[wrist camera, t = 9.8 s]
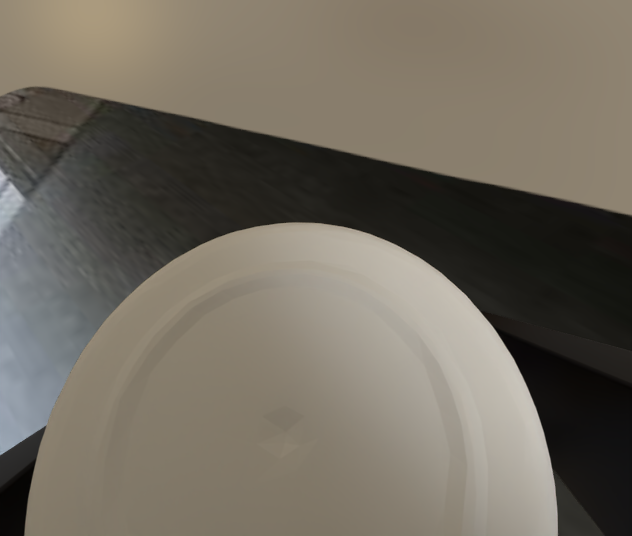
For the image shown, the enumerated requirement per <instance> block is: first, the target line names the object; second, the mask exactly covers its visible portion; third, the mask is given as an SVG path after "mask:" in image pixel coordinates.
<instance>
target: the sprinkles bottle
mask: <svg viewBox="0 0 632 536" xmlns="http://www.w3.org/2000/svg"><path fill="white" fill-rule="evenodd" d="M24 536H558V514H557V502H556V492H555V483H554V477H553V472H552V466H551V461H550V456H549V452H548V448H547V444H546V440H545V436H544V432H543V429H542V426H541V422H540V419H539V416H538V413H537V410H536V407H535V405H534V403H533V400H532V398H531V395H530V393H529V390H528V388H527V386H526V383H525V381H524V379H523V377H522V375H521V373H520V371H519V369H518V367H517V365H516V363H515V361H514V359H513V357H512V356H511V354H510V353H509V351H508V349H507V348H506V346H505V345H504V343H503V341H502V340H501V338H500V337H499V335H498V334H497V332H496V331H495V329H494V328H493V326H492V325H491V324H490V323H489V322H488V320H487V319H486V318H485V317H484V316H483V315H482V313H481V312H480V311H479V310H478V309H477V308H476V306H475V305H474V304H473V303H472V302H471V301H470V299H469V298H468V297H467V296H466V295H465V294H464V293H463V292H462V291H461V290H460V289H458V288H457V287H456V286H455V285H454V284H453V283H452V282H451V281H450V280H448V279H447V278H446V277H445V276H444V275H443V274H442V273H441V272H439V271H438V270H436V269H435V268H433V267H432V266H430V265H429V264H428V263H426V262H425V261H423V260H422V259H420V258H419V257H417V256H415V255H413V254H412V253H410V252H408V251H406V250H404V249H403V248H401V247H399V246H397V245H395V244H392V243H390V242H388V241H386V240H383V239H381V238H378V237H376V236H373V235H371V234H368V233H365V232H361V231H358V230H354V229H350V228H346V227H340V226H334V225H327V224H321V223H279V224H272V225H265V226H258V227H253V228H248V229H244V230H240V231H236V232H232V233H229V234H226V235H223V236H221V237H218V238H215V239H213V240H211V241H208V242H206V243H204V244H201V245H199V246H198V247H196V248H194V249H192V250H190V251H189V252H187V253H185V254H183V255H181V256H179V257H178V258H176V259H174V260H173V261H171V262H170V263H168V264H167V265H166V266H164V267H163V268H161V269H160V270H159V271H157V272H156V273H154V274H153V275H152V276H151V277H149V278H148V279H147V280H146V281H144V282H143V283H142V284H141V285H140V286H139V287H137V288H136V289H135V290H134V291H133V292H132V293H131V294H130V295H129V296H128V297H127V298H126V299H125V300H124V301H123V302H122V303H121V304H120V305H119V306H118V307H117V308H116V309H115V310H114V311H113V312H112V314H111V315H110V316H109V317H108V318H107V319H106V320H105V321H104V323H103V324H102V325H101V327H100V328H99V329H98V331H97V332H96V333H95V335H94V336H93V338H92V339H91V340H90V342H89V343H88V344H87V346H86V347H85V348H84V350H83V352H82V353H81V355H80V357H79V359H78V360H77V362H76V364H75V365H74V367H73V369H72V371H71V372H70V375H69V377H68V379H67V381H66V383H65V385H64V387H63V389H62V391H61V393H60V395H59V397H58V399H57V401H56V403H55V406H54V408H53V410H52V412H51V415H50V418H49V420H48V423H47V426H46V429H45V432H44V435H43V438H42V441H41V443H40V447H39V451H38V455H37V460H36V464H35V468H34V472H33V477H32V482H31V487H30V492H29V497H28V505H27V514H26V522H25V534H24Z"/></svg>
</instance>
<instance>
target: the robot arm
mask: <svg viewBox="0 0 632 536" xmlns="http://www.w3.org/2000/svg"><path fill="white" fill-rule="evenodd" d="M479 311H480V310H479ZM480 312H481V313H482V315H483V316H484V317H485V318H486V319H487V320H488V322H489V323H490V324H491V325H492V326H493V328H494V329H495V331H496V332H497V334H498V335H499V337H500V338H501V340H502V341H503V343H504V345H505V346H506V348H507V349H508V351H509V353H510V354H511V356H512V357H513V359H514V361H515V363H516V365H517V367H518V369H519V371H520V373H521V375H522V377H523V379H524V381H525V383H526V386H527V388H528V390H529V393H530V395H531V398H532V400H533V403H534V405H535V407H536V410H537V413H538V416H539V419H540V422H541V426H542V429H543V432H544V436H545V440H546V444H547V448H548V452H549V456H550V461H551V466H552V469H553V470H554V471H555V472H556V474H557V475H558V476H559V478H560V479H561V480H562V482H563V483H564V484H565V485H566V487H567V488H568V489H569V491H570V492H571V493H572V494H573V496H574V497H575V498H576V500H577V501H578V502H579V503H580V505H581V506H582V507H583V509H584V510H585V511H586V512H587V514H588V515H589V516H590V518H591V519H592V520H593V521H594V523H595V524H596V525H597V527H598V528H599V529H600V530H601V532H602V533H603V534H604V536H632V351H629V350H625V349H621V348H617V347H614V346H610V345H606V344H603V343H599V342H595V341H592V340H588V339H584V338H580V337H577V336H573V335H569V334H566V333H562V332H558V331H555V330H551V329H547V328H543V327H540V326H536V325H532V324H529V323H525V322H521V321H517V320H514V319H510V318H506V317H503V316H499V315H495V314H492V313H488V312H484V311H480ZM46 426H47V425H46ZM46 426H45V427H43V428H42V429H40V430H39V431H37V432H36V433H34V434H33V435H31V436H30V437H28V438H26V439H25V440H23V441H22V442H20V443H19V444H17V445H16V446H14V447H13V448H11V449H9V450H8V451H6V452H5V453H3V454H2V455H0V536H24V534H25V522H26V514H27V505H28V497H29V492H30V487H31V482H32V477H33V472H34V468H35V464H36V460H37V455H38V451H39V447H40V443H41V441H42V438H43V435H44V432H45V429H46Z"/></svg>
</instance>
